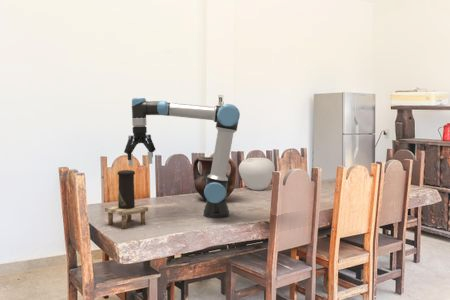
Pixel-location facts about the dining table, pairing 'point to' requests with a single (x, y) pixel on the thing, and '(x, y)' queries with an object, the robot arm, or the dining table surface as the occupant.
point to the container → (126, 189)
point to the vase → (256, 172)
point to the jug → (206, 170)
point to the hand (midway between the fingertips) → (140, 164)
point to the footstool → (125, 212)
